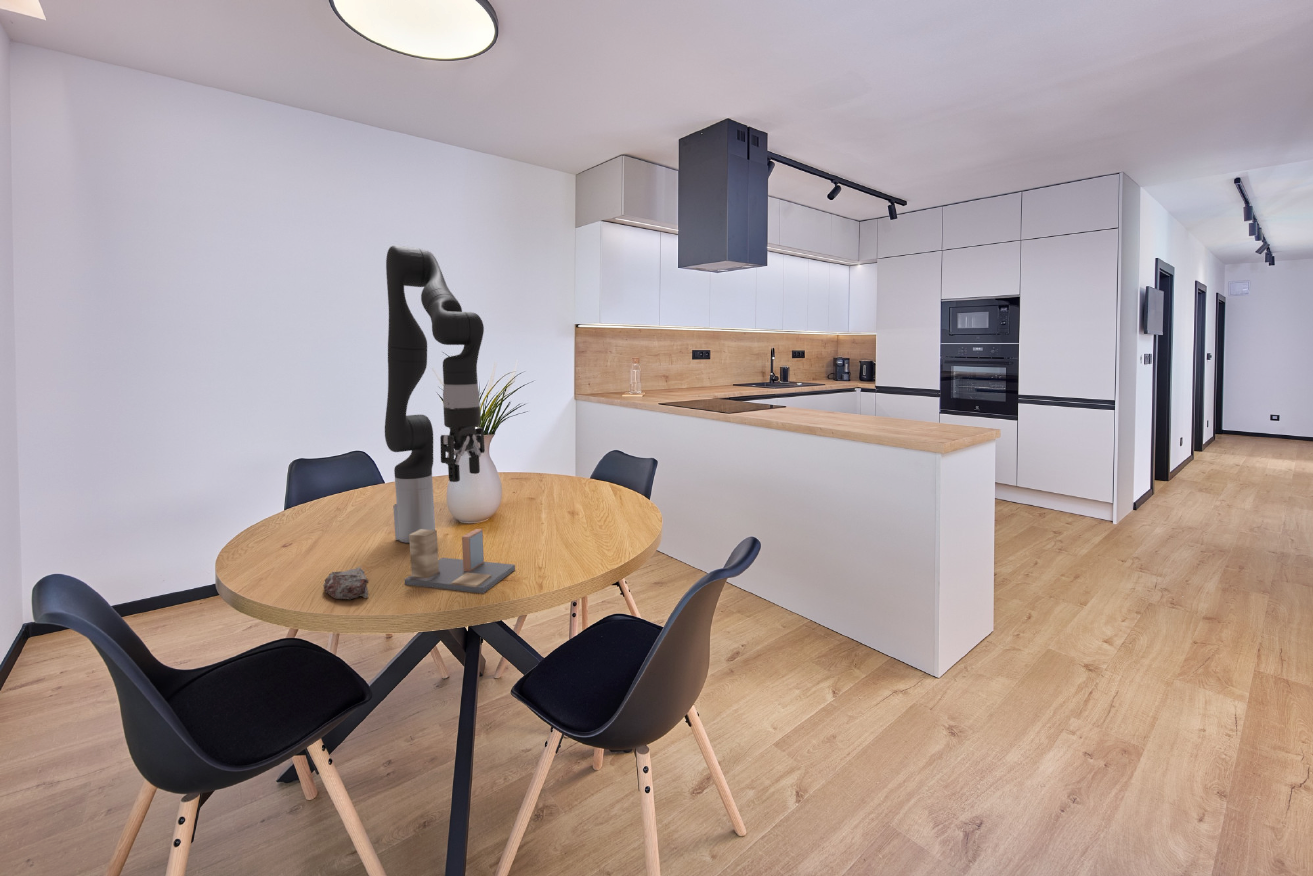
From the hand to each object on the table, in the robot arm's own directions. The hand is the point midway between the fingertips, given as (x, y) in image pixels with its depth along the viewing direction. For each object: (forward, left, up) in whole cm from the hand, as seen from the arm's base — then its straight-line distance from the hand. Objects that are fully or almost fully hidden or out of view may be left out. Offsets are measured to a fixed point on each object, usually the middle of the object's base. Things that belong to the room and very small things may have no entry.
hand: (464, 477), depth 133 cm
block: (-6, -7, -21) cm, 23 cm away
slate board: (0, -3, -22) cm, 22 cm away
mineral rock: (-19, -16, -23) cm, 34 cm away
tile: (+1, +1, -21) cm, 21 cm away
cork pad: (+5, -7, -21) cm, 23 cm away
